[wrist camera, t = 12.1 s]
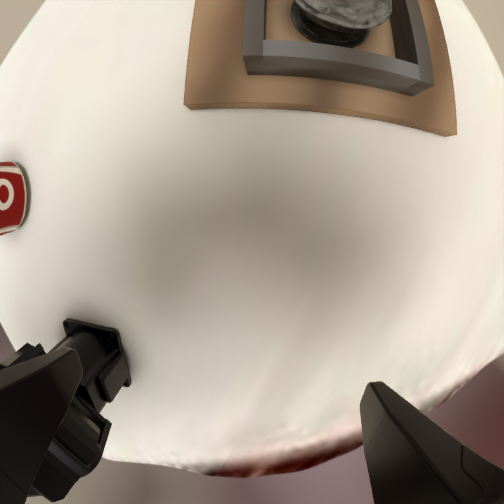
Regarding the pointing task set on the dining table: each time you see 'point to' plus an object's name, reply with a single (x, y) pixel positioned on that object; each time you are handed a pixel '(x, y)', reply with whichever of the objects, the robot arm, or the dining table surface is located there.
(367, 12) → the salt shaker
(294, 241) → the dining table surface
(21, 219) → the soda can
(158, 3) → the dining table surface
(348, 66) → the collar holder
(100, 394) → the robot arm
